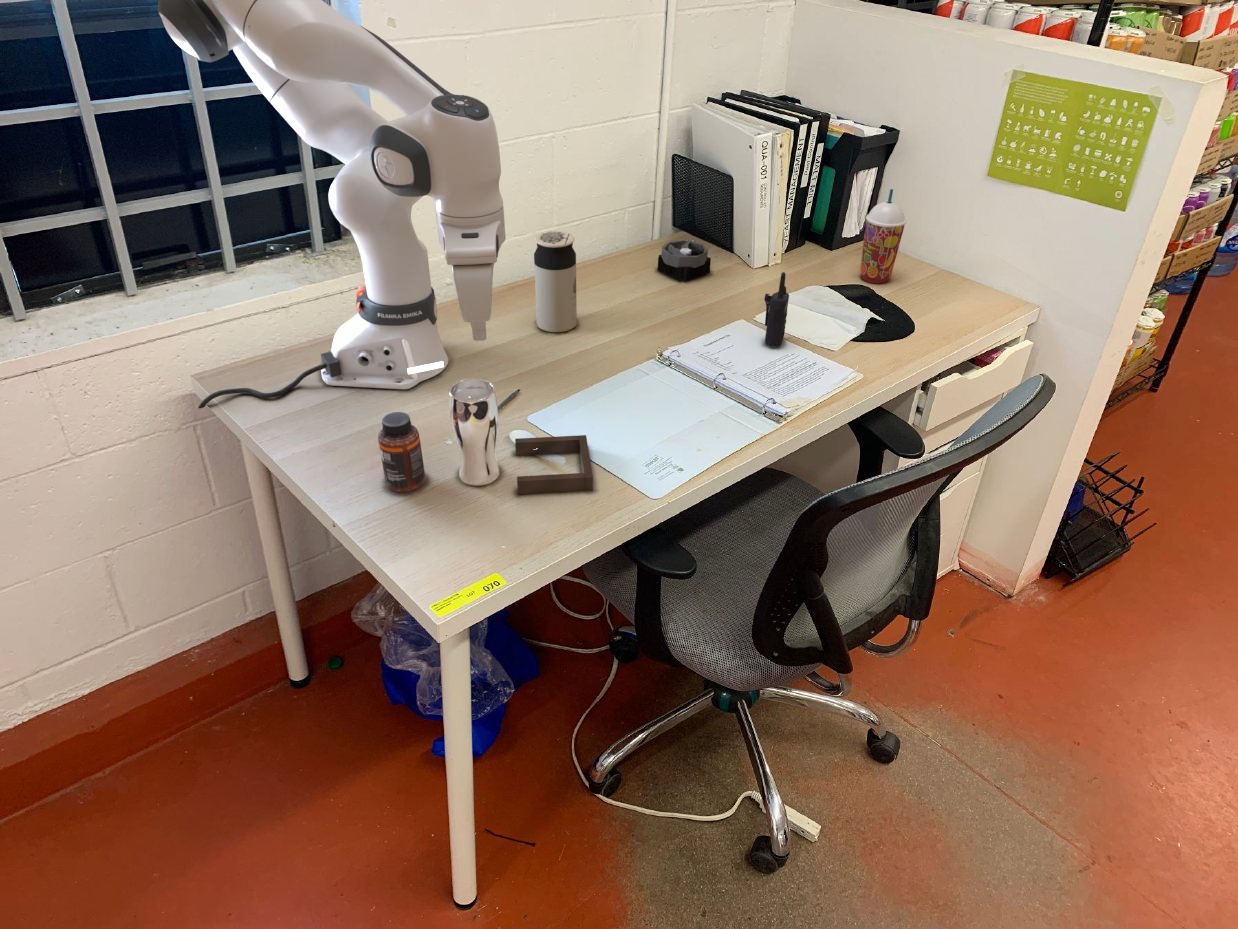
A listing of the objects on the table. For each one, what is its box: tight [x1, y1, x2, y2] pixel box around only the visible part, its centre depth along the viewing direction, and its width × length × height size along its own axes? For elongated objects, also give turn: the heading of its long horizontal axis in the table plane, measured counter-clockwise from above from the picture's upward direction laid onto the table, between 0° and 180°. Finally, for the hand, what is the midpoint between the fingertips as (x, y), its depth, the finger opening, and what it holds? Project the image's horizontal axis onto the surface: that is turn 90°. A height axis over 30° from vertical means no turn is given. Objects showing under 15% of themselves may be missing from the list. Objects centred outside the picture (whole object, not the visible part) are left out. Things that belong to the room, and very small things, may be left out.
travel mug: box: [533, 230, 578, 333], centre depth 176 cm, size 8×8×18 cm
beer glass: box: [448, 377, 500, 487], centre depth 135 cm, size 7×7×15 cm
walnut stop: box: [514, 434, 594, 495], centre depth 140 cm, size 11×11×2 cm
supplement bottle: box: [377, 411, 426, 493], centre depth 134 cm, size 6×6×11 cm
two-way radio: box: [764, 271, 790, 348], centre depth 172 cm, size 6×4×15 cm
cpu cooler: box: [657, 238, 712, 282], centre depth 202 cm, size 10×6×10 cm
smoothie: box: [859, 188, 907, 284], centre depth 197 cm, size 8×8×20 cm
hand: (480, 322), depth 128 cm, fingers open, 8 cm apart
